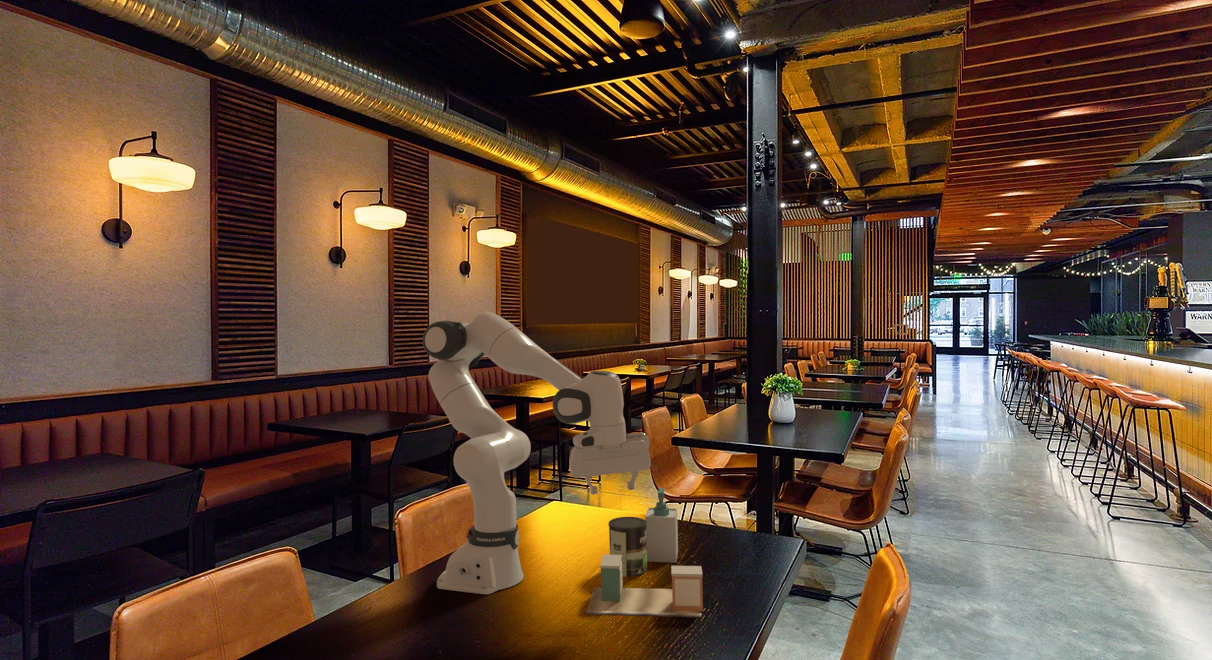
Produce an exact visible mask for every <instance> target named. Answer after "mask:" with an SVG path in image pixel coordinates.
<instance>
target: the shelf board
mask: <svg viewBox="0 0 1212 660" xmlns="http://www.w3.org/2000/svg"><path fill="white" fill-rule="evenodd" d="M585 615H599V616H604V615H605V616H631V617H632V616H634V617H636V616H637V617H638V616H639V617H666V618H667V617H668V618H669V617H670V618H671V617H672V618H673V617H675V618H678V617H679V618H703V615H702V611H679V610H673V599H672V588H643V587H642V588H641V587H639V588H638V587H636V588H635V587H622V592H621V598H620V601H601V586H600V587H598V586H597V587H593V588H592V593H591V596H590V599H589V603H588V605H587V610H586V611H585Z"/></svg>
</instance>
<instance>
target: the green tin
mask: <svg viewBox="0 0 1212 660" xmlns="http://www.w3.org/2000/svg"><path fill="white" fill-rule="evenodd" d="M621 559H622V555H610V554H603V555H602V559H601V562H600V564H599V565H600V566H599V568H600V587H601V601H620V598H621V592H622V588H623V585H624V584H623V583H624V582H623V576H622V561H621Z"/></svg>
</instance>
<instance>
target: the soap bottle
mask: <svg viewBox="0 0 1212 660" xmlns="http://www.w3.org/2000/svg"><path fill="white" fill-rule="evenodd" d="M657 499H658V501H657V502H656V505H655V506H654V507H648V508H647V510H646V514H645V516H644V520H645V521H646V522H647V525H646V539H647V563H649V562H652V563H671V564H672V563H673V564H674V563H675V564H677V560H678V553H679V540H678V539H679V537H678V536H679V533H678V530H679V529H678V508H671V507H670V508H669V506H667V503H666V502H665V501H664V499H665V488H664V487H660V488H659V489H658V490H657Z"/></svg>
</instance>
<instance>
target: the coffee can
mask: <svg viewBox="0 0 1212 660" xmlns="http://www.w3.org/2000/svg"><path fill="white" fill-rule="evenodd" d="M646 525H647V522H646V521H645V518H641V517H638V516H637V517H636V516H620V517H615V518H612V519H610V520H609V521H608V530H609V531H608V532H609V533H608V536H609V537H608V539H609V555H622V559H621V561H622V577H625V578H628V577H629V578H630V577H638V576H641V575H644V574H645V573H646V572H647V571H648V562H647V539H646Z"/></svg>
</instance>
